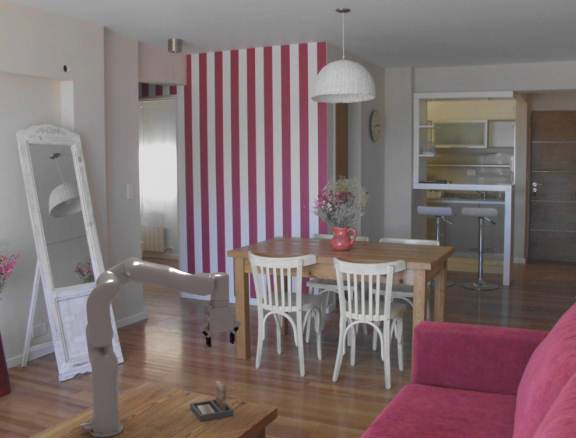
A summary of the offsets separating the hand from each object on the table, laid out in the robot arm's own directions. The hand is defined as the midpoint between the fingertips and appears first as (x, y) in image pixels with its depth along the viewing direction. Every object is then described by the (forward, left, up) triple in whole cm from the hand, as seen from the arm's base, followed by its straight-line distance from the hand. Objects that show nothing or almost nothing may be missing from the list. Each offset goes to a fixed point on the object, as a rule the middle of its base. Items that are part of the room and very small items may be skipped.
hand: (220, 344), depth 265 cm
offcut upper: (-6, 0, -28) cm, 28 cm away
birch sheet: (0, 0, -28) cm, 28 cm away
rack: (-4, 0, -28) cm, 29 cm away
